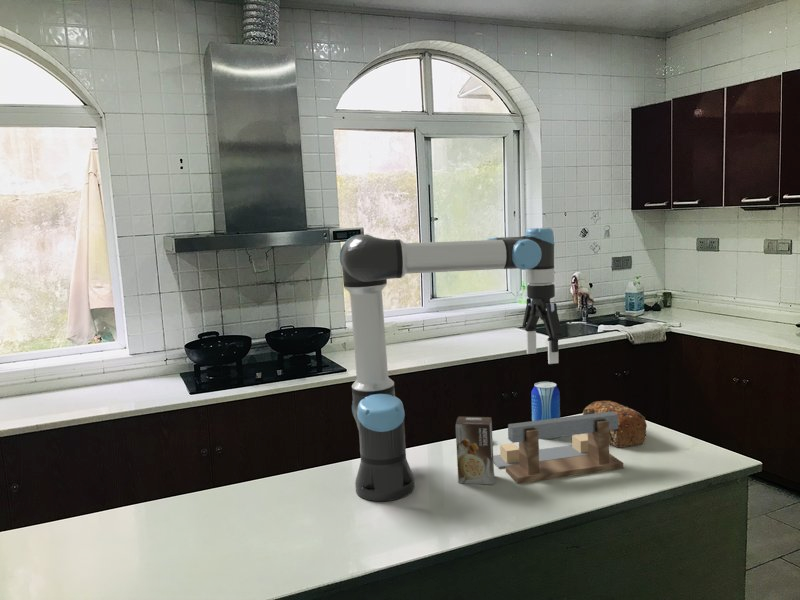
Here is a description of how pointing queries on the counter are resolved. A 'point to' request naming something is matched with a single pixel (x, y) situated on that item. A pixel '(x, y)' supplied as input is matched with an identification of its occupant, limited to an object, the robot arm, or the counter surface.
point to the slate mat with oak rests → (543, 452)
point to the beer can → (545, 401)
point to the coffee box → (474, 450)
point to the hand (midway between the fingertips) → (542, 358)
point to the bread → (622, 423)
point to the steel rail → (562, 426)
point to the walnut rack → (564, 467)
